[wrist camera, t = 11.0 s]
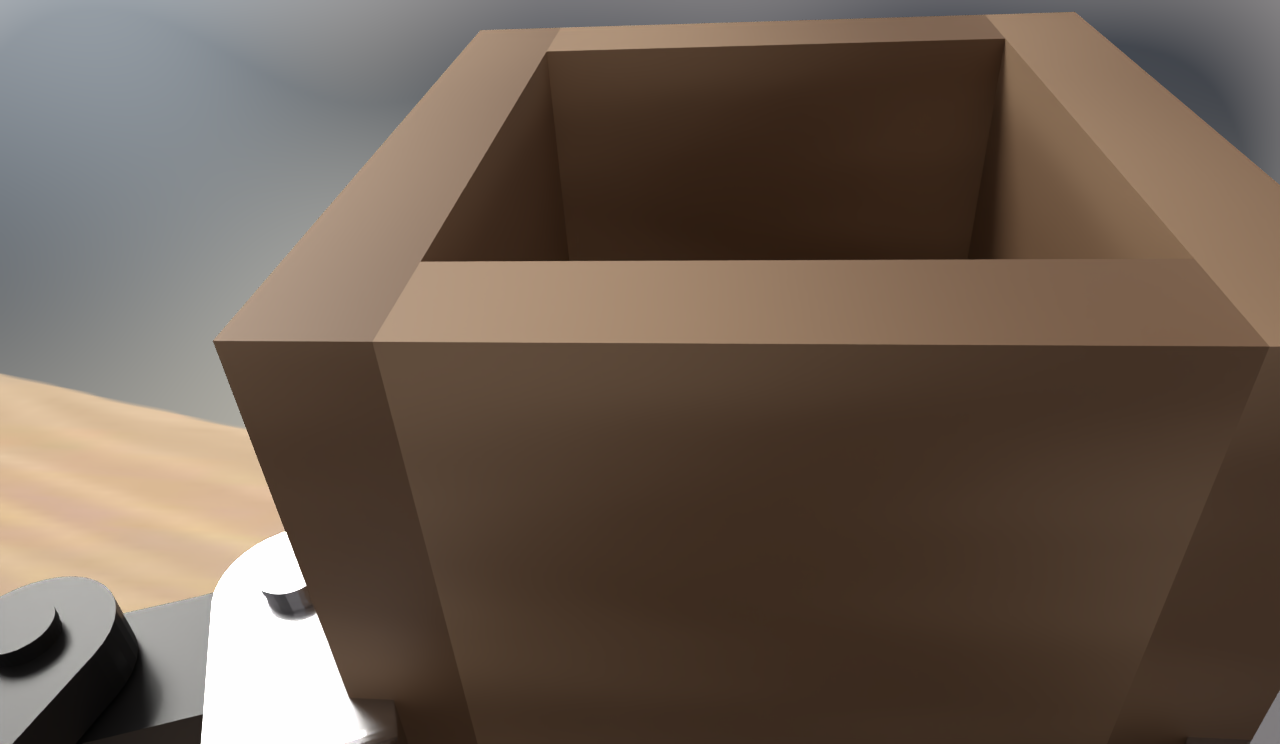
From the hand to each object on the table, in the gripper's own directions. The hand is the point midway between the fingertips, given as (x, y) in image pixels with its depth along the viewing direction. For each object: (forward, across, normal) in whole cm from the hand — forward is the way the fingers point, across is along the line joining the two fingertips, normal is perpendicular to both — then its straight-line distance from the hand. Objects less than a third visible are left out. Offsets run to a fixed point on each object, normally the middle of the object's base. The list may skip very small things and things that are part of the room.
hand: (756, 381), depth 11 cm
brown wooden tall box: (-3, 0, +6) cm, 7 cm away
